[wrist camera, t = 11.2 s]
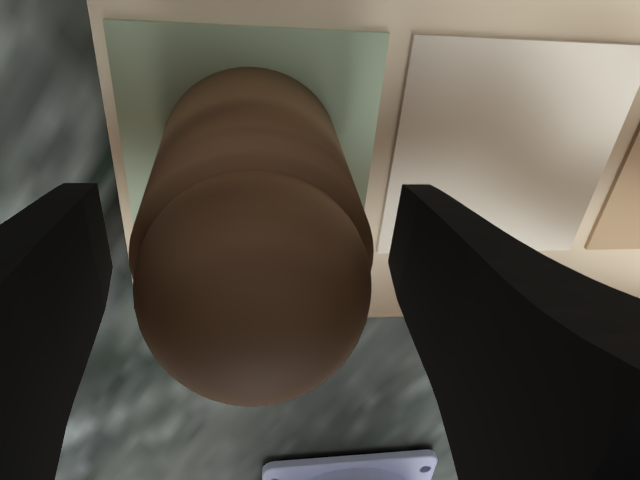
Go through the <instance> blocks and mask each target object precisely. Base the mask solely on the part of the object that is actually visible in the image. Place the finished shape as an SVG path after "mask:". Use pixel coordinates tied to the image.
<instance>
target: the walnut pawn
mask: <svg viewBox="0 0 640 480" xmlns="http://www.w3.org/2000/svg"><path fill="white" fill-rule="evenodd" d="M373 255H374V247H373V237H372V233H371V228H370V225H369V222H368V219H367V217H366V214H365V211H364V208H363V206H362V203H361V200H360V197H359V195H358V192H357V189H356V186H355V184H354V181H353V178H352V175H351V173H350V170H349V167H348V164H347V162H346V159H345V156H344V153H343V151H342V148H341V145H340V142H339V140H338V137H337V134H336V131H335V129H334V126H333V123H332V121H331V118H330V116H329V114H328V112H327V110H326V109H325V107H324V105H323V104H322V103H321V101H320V100H319V99H318V98H317V96H316V95H315V94H314V93H313V92H312V91H311V90H309V89H308V88H307V87H306V86H304V85H303V84H302V83H300V82H299V81H297V80H296V79H294V78H292V77H290V76H288V75H286V74H283V73H281V72H278V71H275V70H270V69H266V68H259V67H237V68H231V69H226V70H223V71H220V72H216V73H214V74H212V75H210V76H208V77H205V78H204V79H202V80H201V81H199V82H197V83H196V84H195V85H193V86H192V87H191V88H190V89H189V90H188V91H186V92H185V94H184V95H183V96H182V97H181V98H180V99H179V101H178V102H177V104H176V105H175V107H174V108H173V110H172V112H171V114H170V117H169V119H168V121H167V124H166V128H165V131H164V134H163V137H162V140H161V143H160V146H159V149H158V152H157V155H156V158H155V161H154V164H153V167H152V170H151V173H150V177H149V180H148V183H147V186H146V189H145V192H144V195H143V198H142V201H141V204H140V207H139V210H138V213H137V216H136V219H135V222H134V226H133V229H132V233H131V236H130V242H129V266H130V270H131V274H132V278H133V297H134V309H135V313H136V317H137V321H138V324H139V328H140V331H141V333H142V335H143V337H144V340H145V342H146V344H147V345H148V347H149V349H150V351H151V352H152V354H153V355H154V357H155V358H156V360H157V361H158V362H159V363H160V364H161V365H162V367H163V368H164V369H165V370H166V371H167V372H168V373H169V374H170V375H171V376H172V377H173V378H174V379H176V380H177V381H178V382H179V383H181V384H182V385H184V386H185V387H187V388H188V389H190V390H191V391H193V392H195V393H197V394H199V395H201V396H203V397H206V398H208V399H211V400H214V401H218V402H221V403H225V404H230V405H235V406H246V407H257V406H267V405H273V404H278V403H282V402H285V401H288V400H291V399H294V398H296V397H299V396H301V395H303V394H305V393H307V392H309V391H311V390H313V389H314V388H316V387H318V386H319V385H320V384H322V383H323V382H324V381H326V380H327V379H328V378H329V377H330V376H332V375H333V374H334V373H335V372H336V371H337V370H338V369H339V368H340V367H341V366H342V364H343V363H344V362H345V361H346V359H347V358H348V357H349V355H350V354H351V353H352V351H353V349H354V348H355V346H356V344H357V343H358V341H359V338H360V336H361V334H362V331H363V329H364V327H365V324H366V321H367V317H368V313H369V308H370V303H371V292H372V283H371V269H372V265H373Z"/></svg>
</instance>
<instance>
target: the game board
mask: <svg viewBox="0 0 640 480" xmlns="http://www.w3.org/2000/svg"><path fill="white" fill-rule="evenodd" d="M87 6H88V12H89V18H90V25H91V31H92V37H93V43H94V49H95V55H96V61H97V67H98V73H99V80H100V86H101V92H102V98H103V104H104V110H105V116H106V122H107V128H108V135H109V141H110V147H111V153H112V159H113V165H114V171H115V177H116V183H117V190H118V196H119V202H120V208H121V214H122V220H123V226H124V232H125V239H126V245H127V251H128V257H129V242H130V236H131V233H132V229H133V226H134V222H135V219H136V216H137V213H138V210H139V207H140V204H141V201H142V198H143V195H144V192H145V189H146V186H147V183H148V180H149V177H150V173H151V170H152V167H153V164H154V161H155V158H156V155H157V152H158V149H159V146H160V143H161V140H162V137H163V134H164V131H165V128H166V124H167V121H168V119H169V117H170V114H171V112H172V110H173V108H174V107H175V105H176V104H177V102H178V101H179V99H180V98H181V97H182V96H183V95H184V94H185V92H186V91H188V90H189V89H190V88H191V87H192V86H193V85H195V84H196V83H197V82H199V81H201V80H202V79H204V78H205V77H208V76H210V75H212V74H214V73H216V72H220V71H223V70H226V69H231V68H237V67H259V68H266V69H270V70H275V71H278V72H281V73H283V74H286V75H288V76H290V77H292V78H294V79H296V80H297V81H299V82H300V83H302V84H303V85H304V86H306V87H307V88H308V89H309V90H311V91H312V92H313V93H314V94H315V95H316V96H317V98H318V99H319V100H320V101H321V103H322V104H323V105H324V107H325V109H326V110H327V112H328V114H329V116H330V118H331V121H332V123H333V126H334V129H335V131H336V134H337V137H338V140H339V142H340V145H341V148H342V151H343V153H344V156H345V159H346V162H347V164H348V167H349V170H350V173H351V175H352V178H353V181H354V184H355V186H356V189H357V192H358V195H359V197H360V200H361V203H362V206H363V208H364V211H365V214H366V217H367V219H368V222H369V225H370V228H371V233H372V237H373V247H374V255H373V265H372V269H371V283H372V292H371V303H370V308H369V313H368V317H367V318H374V317H401V316H403V314H402V311H401V309H400V306H399V304H398V301H397V298H396V294H395V290H394V286H393V282H392V278H391V273H390V269H389V264H388V258H389V252H390V247H391V242H392V236H393V231H394V226H395V220H396V215H397V210H398V204H399V199H400V194H401V188H402V184H430V185H432V186H434V187H436V188H438V189H440V190H441V191H443V192H445V193H446V194H448V195H449V196H451V197H453V198H454V199H456V200H457V201H459V202H460V203H462V204H463V205H465V206H466V207H468V208H469V209H471V210H472V211H474V212H475V213H477V214H478V215H480V216H481V217H483V218H484V219H486V220H487V221H489V222H490V223H492V224H493V225H495V226H497V227H498V228H500V229H501V230H503V231H504V232H506V233H508V234H509V235H511V236H513V237H514V238H516V239H517V240H519V241H521V242H523V243H524V244H526V245H528V246H530V247H531V248H533V249H535V250H536V251H538V252H540V253H542V254H543V255H545V256H547V257H549V258H551V259H553V260H555V261H557V262H558V263H560V264H563V265H565V266H567V267H569V268H571V269H573V270H575V271H577V272H579V273H581V274H583V275H585V276H587V277H589V278H592V279H594V280H596V281H598V282H601V283H603V284H605V285H608V286H610V287H612V288H615V289H617V290H620V291H622V292H625V293H627V294H630V295H632V296H635V297H638V298H640V0H87ZM131 275H132V274H131ZM132 281H133V278H132Z"/></svg>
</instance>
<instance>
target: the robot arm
mask: <svg viewBox="0 0 640 480" xmlns="http://www.w3.org/2000/svg"><path fill="white" fill-rule="evenodd" d="M388 264H389V269H390V273H391V278H392V282H393V286H394V290H395V294H396V298H397V301H398V304H399V306H400V309H401V311H402V314H403V316H404V319H405V321H406V324H407V326H408V329H409V331H410V334H411V336H412V339H413V341H414V344H415V346H416V349H417V351H418V353H419V356H420V358H421V361H422V363H423V366H424V368H425V371H426V373H427V376H428V378H429V380H430V383H431V386H432V388H433V391H434V394H435V397H436V400H437V403H438V406H439V410H440V413H441V417H442V420H443V424H444V427H445V431H446V434H447V438H448V441H449V445H450V449H451V453H452V457H453V460H454V464H455V468H456V472H457V476H458V480H640V298H638V297H635V296H632V295H630V294H627V293H625V292H622V291H620V290H617V289H615V288H612V287H610V286H608V285H605V284H603V283H601V282H598V281H596V280H594V279H592V278H589V277H587V276H585V275H583V274H581V273H579V272H577V271H575V270H573V269H571V268H569V267H567V266H565V265H563V264H560V263H558V262H557V261H555V260H553V259H551V258H549V257H547V256H545V255H543V254H542V253H540V252H538V251H536V250H535V249H533V248H531V247H530V246H528V245H526V244H524V243H523V242H521V241H519V240H517V239H516V238H514V237H513V236H511V235H509V234H508V233H506V232H504V231H503V230H501V229H500V228H498V227H497V226H495V225H493V224H492V223H490V222H489V221H487V220H486V219H484V218H483V217H481V216H480V215H478V214H477V213H475V212H474V211H472V210H471V209H469V208H468V207H466V206H465V205H463V204H462V203H460V202H459V201H457V200H456V199H454V198H453V197H451V196H449V195H448V194H446V193H445V192H443V191H441V190H440V189H438V188H436V187H434V186H432V185H430V184H402V188H401V194H400V199H399V204H398V210H397V215H396V220H395V226H394V231H393V236H392V242H391V247H390V252H389V258H388ZM112 268H113V266H112V261H111V256H110V250H109V245H108V240H107V234H106V229H105V224H104V218H103V213H102V208H101V202H100V197H99V192H98V186H97V183H63V184H62V185H60V186H58V187H56V188H54V189H53V190H51V191H50V192H48V193H47V194H45V195H44V196H42V197H41V198H39V199H38V200H36V201H35V202H33V203H32V204H30V205H29V206H27V207H26V208H25V209H23V210H22V211H20V212H19V213H17V214H16V215H14V216H13V217H11V218H10V219H8V220H7V221H5V222H4V223H2V224H1V225H0V480H55V475H56V471H57V466H58V462H59V457H60V453H61V448H62V444H63V439H64V434H65V430H66V426H67V422H68V419H69V415H70V412H71V408H72V405H73V402H74V399H75V396H76V393H77V390H78V387H79V385H80V382H81V379H82V376H83V373H84V370H85V367H86V364H87V361H88V358H89V355H90V353H91V350H92V347H93V344H94V341H95V338H96V335H97V332H98V329H99V326H100V323H101V320H102V317H103V314H104V311H105V307H106V302H107V297H108V291H109V286H110V280H111V274H112ZM436 464H437V456H436V453H435V452H434V451H432V450H428V449H426V450H413V451H400V452H387V453H374V454H361V455H348V456H335V457H322V458H309V459H296V460H283V461H272V462H269V463H266V464H265V465H264V466H263V468H262V480H431V478H432V475H433V472H434V470H435V467H436Z"/></svg>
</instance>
